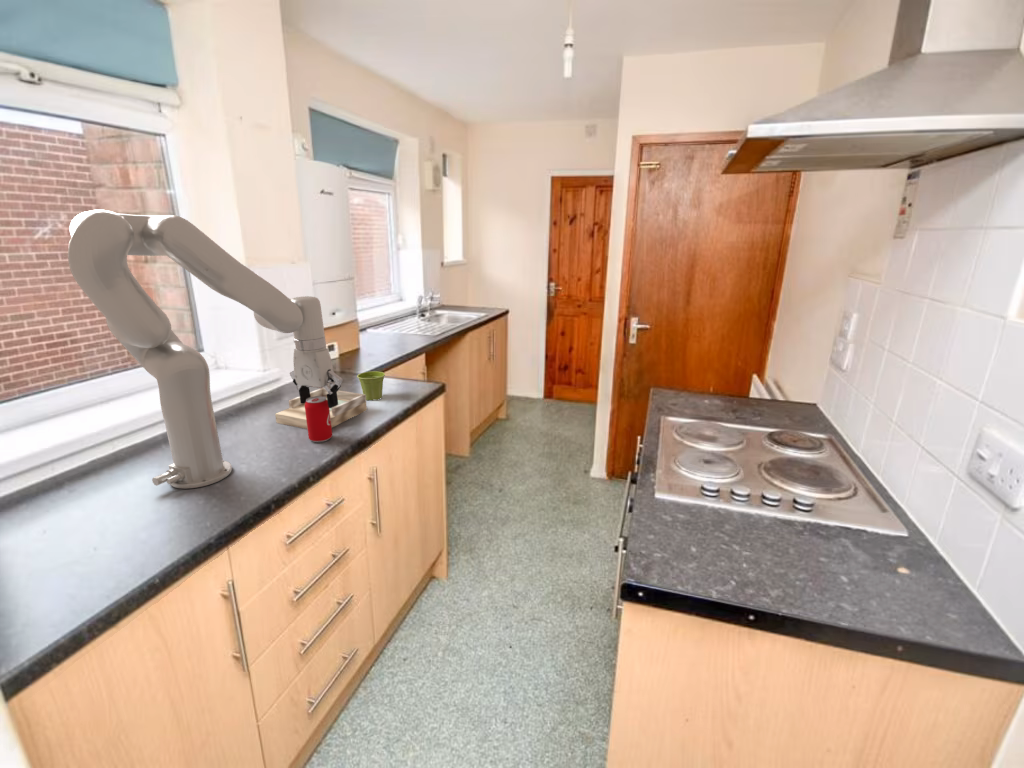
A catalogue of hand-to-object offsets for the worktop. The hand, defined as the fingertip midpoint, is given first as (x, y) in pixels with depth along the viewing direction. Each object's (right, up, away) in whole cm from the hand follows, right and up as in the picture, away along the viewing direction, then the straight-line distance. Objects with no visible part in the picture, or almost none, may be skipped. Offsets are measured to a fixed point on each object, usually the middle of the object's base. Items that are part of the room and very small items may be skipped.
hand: (319, 404), depth 131 cm
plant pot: (+4, 0, +37) cm, 37 cm away
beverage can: (-1, -10, +3) cm, 11 cm away
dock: (-7, -5, +19) cm, 21 cm away
